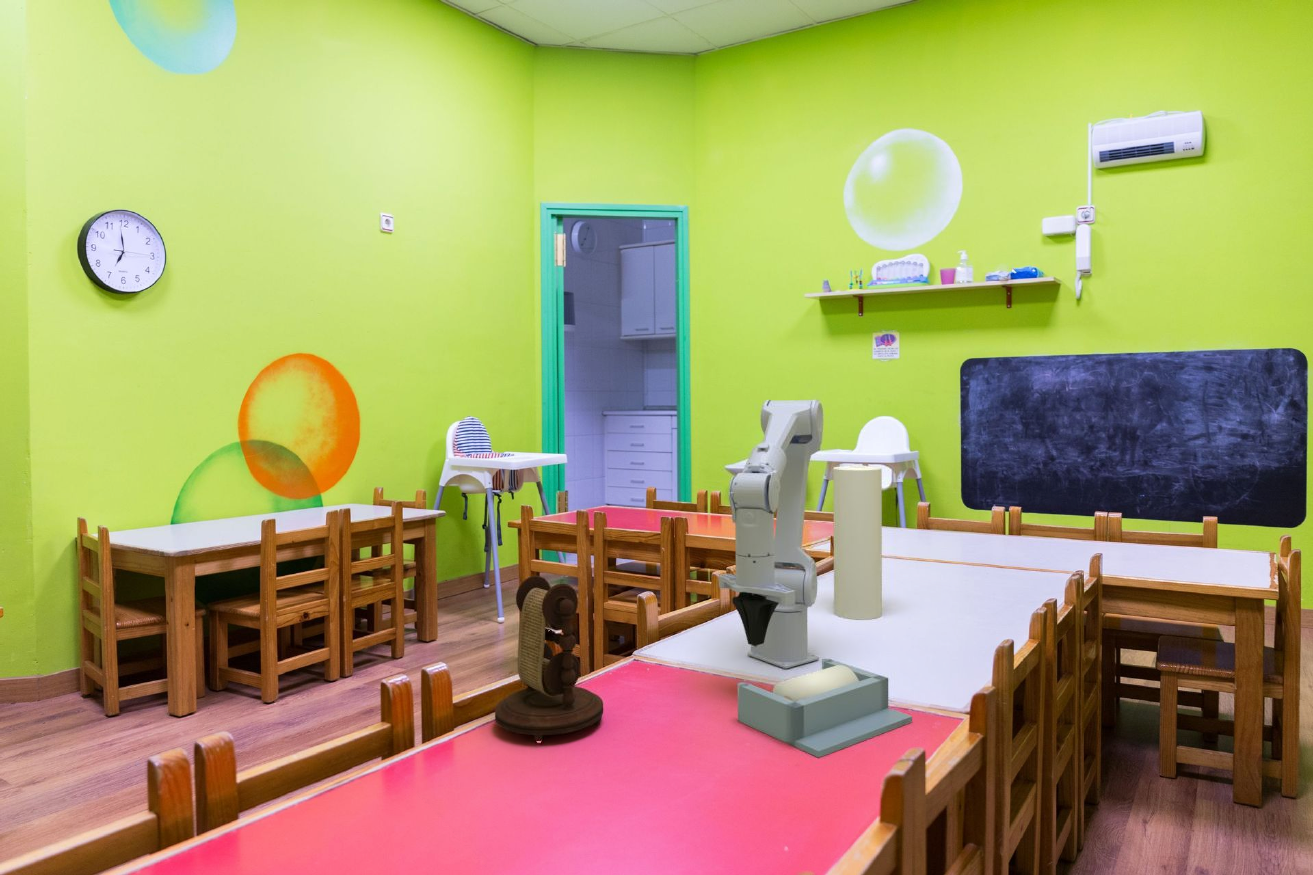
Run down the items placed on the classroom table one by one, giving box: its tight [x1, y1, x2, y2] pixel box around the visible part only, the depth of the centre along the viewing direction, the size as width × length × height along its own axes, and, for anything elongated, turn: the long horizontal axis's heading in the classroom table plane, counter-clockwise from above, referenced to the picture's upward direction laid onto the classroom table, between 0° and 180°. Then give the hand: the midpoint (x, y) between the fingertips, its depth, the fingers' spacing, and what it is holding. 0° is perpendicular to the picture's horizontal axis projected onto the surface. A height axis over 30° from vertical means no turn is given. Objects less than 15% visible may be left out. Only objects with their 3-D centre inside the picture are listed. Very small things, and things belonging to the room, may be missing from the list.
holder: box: [737, 658, 913, 758], centre depth 115 cm, size 15×18×5 cm
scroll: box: [494, 575, 604, 742], centre depth 115 cm, size 15×15×20 cm
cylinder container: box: [832, 464, 883, 621], centre depth 170 cm, size 9×9×30 cm
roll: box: [771, 665, 859, 702], centre depth 116 cm, size 12×6×6 cm
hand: (756, 643), depth 126 cm, fingers closed
